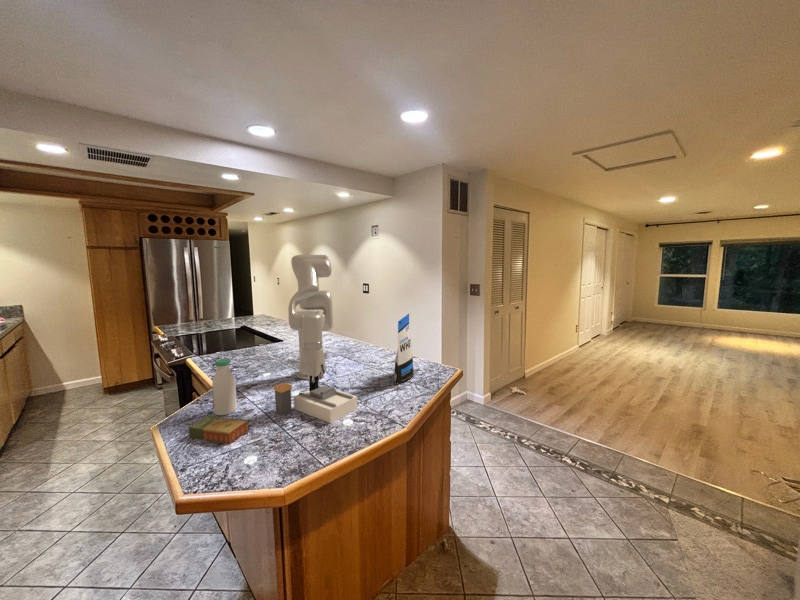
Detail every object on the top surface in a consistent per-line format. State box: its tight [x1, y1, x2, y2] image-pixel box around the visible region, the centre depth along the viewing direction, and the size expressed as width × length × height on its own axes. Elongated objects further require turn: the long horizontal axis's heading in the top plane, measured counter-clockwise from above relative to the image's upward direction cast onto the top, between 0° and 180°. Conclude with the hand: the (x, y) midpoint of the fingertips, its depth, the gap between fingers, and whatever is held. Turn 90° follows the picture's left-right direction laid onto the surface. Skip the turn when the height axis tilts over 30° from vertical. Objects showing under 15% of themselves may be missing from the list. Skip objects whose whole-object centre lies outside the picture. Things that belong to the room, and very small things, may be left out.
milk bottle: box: [211, 358, 238, 416], centre depth 124 cm, size 8×8×20 cm
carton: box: [188, 415, 249, 445], centre depth 108 cm, size 8×16×4 cm, turn 76°
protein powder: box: [393, 313, 415, 386], centre depth 161 cm, size 10×24×30 cm, turn 167°
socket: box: [293, 385, 358, 424], centre depth 127 cm, size 20×14×6 cm
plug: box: [273, 382, 293, 417], centre depth 123 cm, size 5×5×10 cm
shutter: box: [310, 385, 337, 400], centre depth 127 cm, size 7×7×3 cm
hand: (313, 390), depth 130 cm, fingers closed
